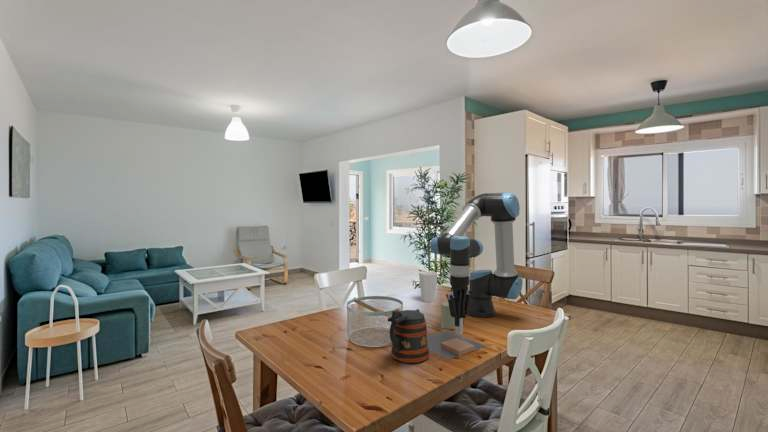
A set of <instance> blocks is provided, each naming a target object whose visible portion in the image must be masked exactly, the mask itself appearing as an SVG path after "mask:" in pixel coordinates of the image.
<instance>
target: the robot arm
mask: <svg viewBox="0 0 768 432" xmlns="http://www.w3.org/2000/svg"><path fill="white" fill-rule="evenodd" d="M520 211H521V210H520V201H519V199H518V197H517V196H516V194H514V193H511V192H496V193H495V192H494V193H491V192H490V193H486V192H485V193H481V194H478V195H476V196H474V197H473V198H471V199H470V200H468V201H467V202H466V203H465V204H464V205H463V207H462V210H461V212H460V213H459V214H458V216H457V217H456V218H455V219H454V221H453V222H452V223H451V224H450V225H449V226H448V228H447V229H446V230H445V231H444V232H443V233H442V234H441V236H440V237H439V236H435V237H432V239H431V240H430V243H429V248H430V251H431V253H432V254H435V255H440V256H449V258H450V259H449V260H450V262H449V274H450V276H449V284H450V286H451V288H450V292H449V293H446V295H445V296H446V299H447V301H448V303H449V309H450V315H451V316H452V317H454V318H455V329H454V330H455V334H458V335H460V336H462V335H463V334H464V324H465V319H466V318H467V315H469V316H471V317H475V318H484V319H486V318H492V317H494V316H496V308H495V306H494V302H493V297H495V298H501V299H507V300H517V299H518V298H519V296H520V295H521V292H522V289H523V278H522V277H520V276H519V273H518V271H517V270H516V269H515V252H514V251H515V250H514V248H515V247H514V231H513V230H514V229H513V228H514V227H513V224H514V222H515V221H516V220H517V219H516V218H518V216H519V215H520ZM481 217H490V221H491V222H492V223H493V224H494V243H495V246H494V247H495V262H496V269H495V270H494V272H493V270H491V269H477V270H474V271H473V270H472V271H470V259H473V258H477V257H479V256H480V255H481V254H482V253H483V251H484V246H483V243H482V242H481V240H479V239H476V238H469V237H468V236H465V234H466V232H467V231H468V230H469V229H470V227H471V226H472V224H473V223H474V222H476V221H477V220H479V219H480V218H481ZM468 286H469V287H468Z"/></svg>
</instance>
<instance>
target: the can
mask: <svg viewBox="0 0 768 432" xmlns="http://www.w3.org/2000/svg"><path fill="white" fill-rule="evenodd" d="M440 328H441V329H442V330H443V329H448V330H449V329H450V330H451V329H452V330H453V329H454V330H455V318H454V317H452V316H451V315H450V309H449V303H448V300H446V301H442V302H440Z"/></svg>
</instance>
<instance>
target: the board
mask: <svg viewBox="0 0 768 432" xmlns="http://www.w3.org/2000/svg"><path fill="white" fill-rule="evenodd" d="M454 338H458V339H460V340H463V341H465V342H468V343H470V344H472V345H475V350H474V351H477V350H480V349H482V348H486V347H487V345H484V344H483V343H480V342H478V341H474V340H473V339H469V338H467V337H465V336H462V335H459V334H457V333H454V332H452V331H450V330H449V329H448V330H444V331H441V332H437V333H434V334H431V335H427V343H428V348H429V352H430V353H433V354H436V355H437V356H440V357H442V358H443V359H445V360H447V361H448V360H452V359H456V358H457V357H460V356H459V355H457V354H455V353H452V352H450V351H448V350H446V349H444V348H442V347H441V343H442V342H445V341H448V340H451V339H454ZM471 352H473V351H471ZM471 352H468V353H471ZM468 353H465V354H464V355H466V354H468Z"/></svg>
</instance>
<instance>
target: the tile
mask: <svg viewBox="0 0 768 432" xmlns="http://www.w3.org/2000/svg"><path fill="white" fill-rule="evenodd" d="M441 347H442V348H444V349H446V350H448V351H450V352H452V353H455V354H457V355H459V356H458V357H460V356H463V355H466V354H468V352H469V353H471V351H472V352H474V351H476V350H475V345H472V344H470V343H468V342H465V341H463V340H460V339H458V338H454V339H451V340H448V341H445V342H442V343H441ZM465 353H466V354H465Z"/></svg>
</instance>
